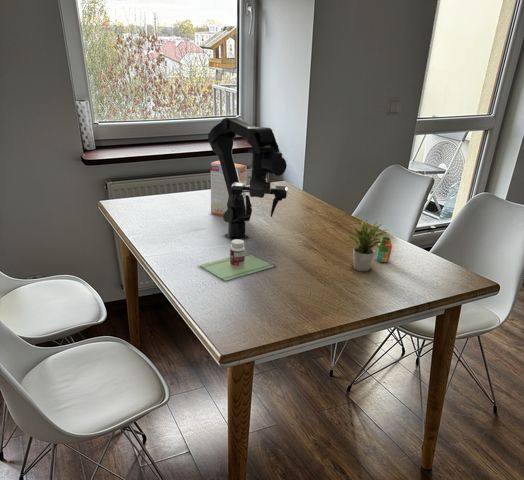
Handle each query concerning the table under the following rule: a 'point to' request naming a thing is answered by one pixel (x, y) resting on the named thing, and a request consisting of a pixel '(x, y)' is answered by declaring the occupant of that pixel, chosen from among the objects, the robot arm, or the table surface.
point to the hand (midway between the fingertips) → (258, 215)
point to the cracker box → (222, 187)
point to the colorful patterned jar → (384, 250)
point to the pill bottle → (237, 254)
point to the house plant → (365, 246)
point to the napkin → (228, 272)
